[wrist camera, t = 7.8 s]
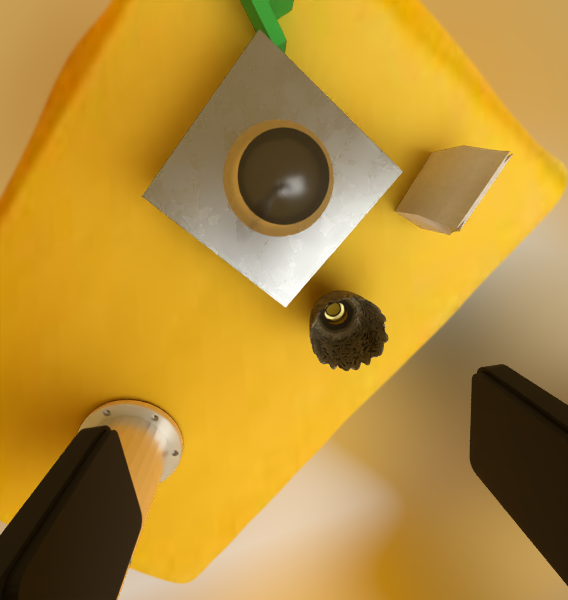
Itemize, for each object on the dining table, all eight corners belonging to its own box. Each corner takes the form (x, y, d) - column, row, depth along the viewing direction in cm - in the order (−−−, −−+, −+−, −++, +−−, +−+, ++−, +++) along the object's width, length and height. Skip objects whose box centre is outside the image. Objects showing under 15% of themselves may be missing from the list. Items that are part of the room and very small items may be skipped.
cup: (297, 283, 39) (305, 305, 32) (361, 272, 39) (385, 292, 32) (305, 343, 42) (315, 377, 34) (367, 333, 42) (390, 365, 34)
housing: (282, 290, 39) (285, 307, 34) (161, 195, 36) (142, 196, 30) (380, 174, 36) (402, 171, 31) (259, 57, 33) (259, 28, 27)
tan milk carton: (394, 211, 38) (439, 218, 28) (432, 152, 36) (492, 138, 27) (421, 228, 38) (474, 240, 29) (459, 171, 37) (528, 164, 27)
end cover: (281, 244, 29) (292, 275, 18) (213, 188, 27) (182, 187, 17) (336, 177, 28) (383, 168, 17) (268, 114, 26) (273, 61, 15)
